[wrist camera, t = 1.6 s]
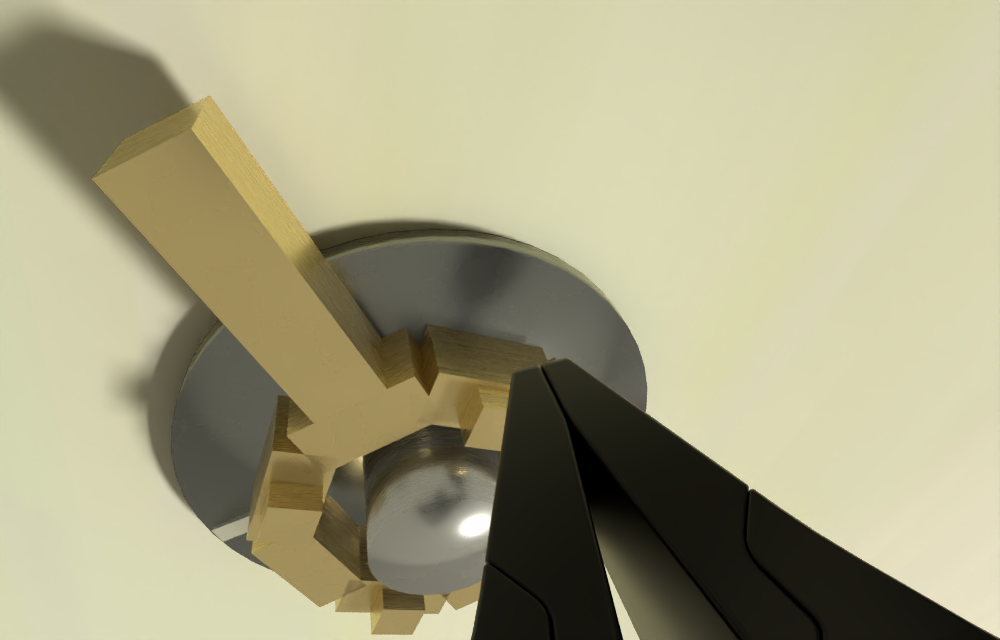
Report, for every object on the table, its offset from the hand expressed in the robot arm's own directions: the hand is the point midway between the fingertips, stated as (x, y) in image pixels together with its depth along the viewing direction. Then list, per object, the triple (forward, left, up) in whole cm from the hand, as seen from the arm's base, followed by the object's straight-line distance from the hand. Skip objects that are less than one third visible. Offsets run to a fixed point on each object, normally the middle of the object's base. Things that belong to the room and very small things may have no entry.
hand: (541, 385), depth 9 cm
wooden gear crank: (+7, +5, -10) cm, 13 cm away
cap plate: (+8, +10, -11) cm, 17 cm away
